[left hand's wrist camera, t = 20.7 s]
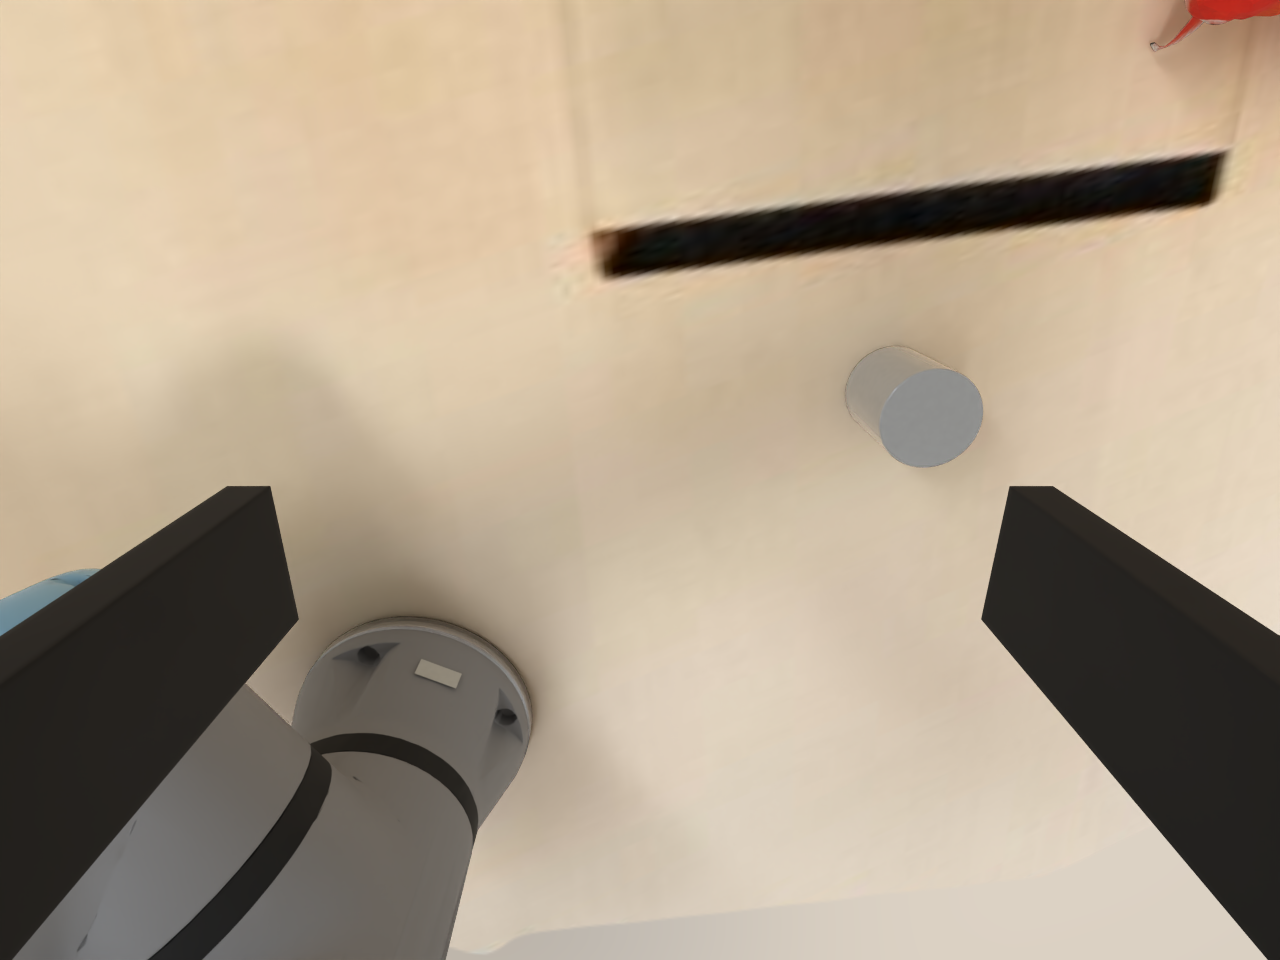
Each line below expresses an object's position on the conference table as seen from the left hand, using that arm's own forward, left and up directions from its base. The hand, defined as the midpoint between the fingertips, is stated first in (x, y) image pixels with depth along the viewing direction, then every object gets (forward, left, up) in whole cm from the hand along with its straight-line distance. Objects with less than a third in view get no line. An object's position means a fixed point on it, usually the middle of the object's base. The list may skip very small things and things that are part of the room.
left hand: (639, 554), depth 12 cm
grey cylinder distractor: (+4, -14, -27) cm, 30 cm away
